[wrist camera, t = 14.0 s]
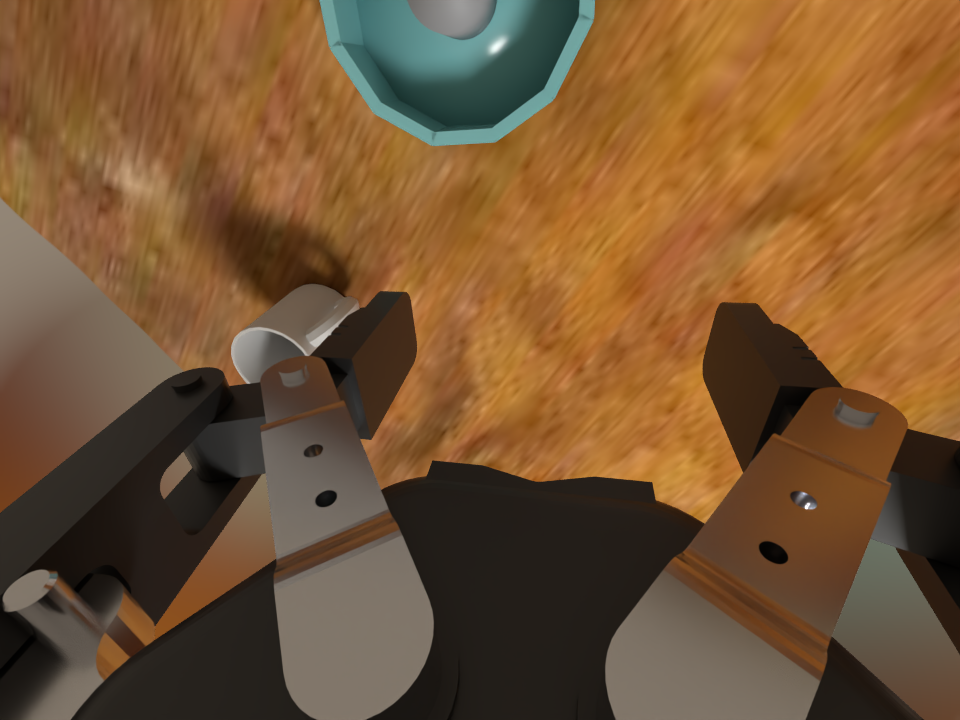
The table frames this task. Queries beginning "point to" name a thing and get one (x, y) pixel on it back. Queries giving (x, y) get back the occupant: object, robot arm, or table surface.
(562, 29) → the bowl
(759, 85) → the table surface
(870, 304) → the table surface
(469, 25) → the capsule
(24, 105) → the table surface
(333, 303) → the cup
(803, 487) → the robot arm
